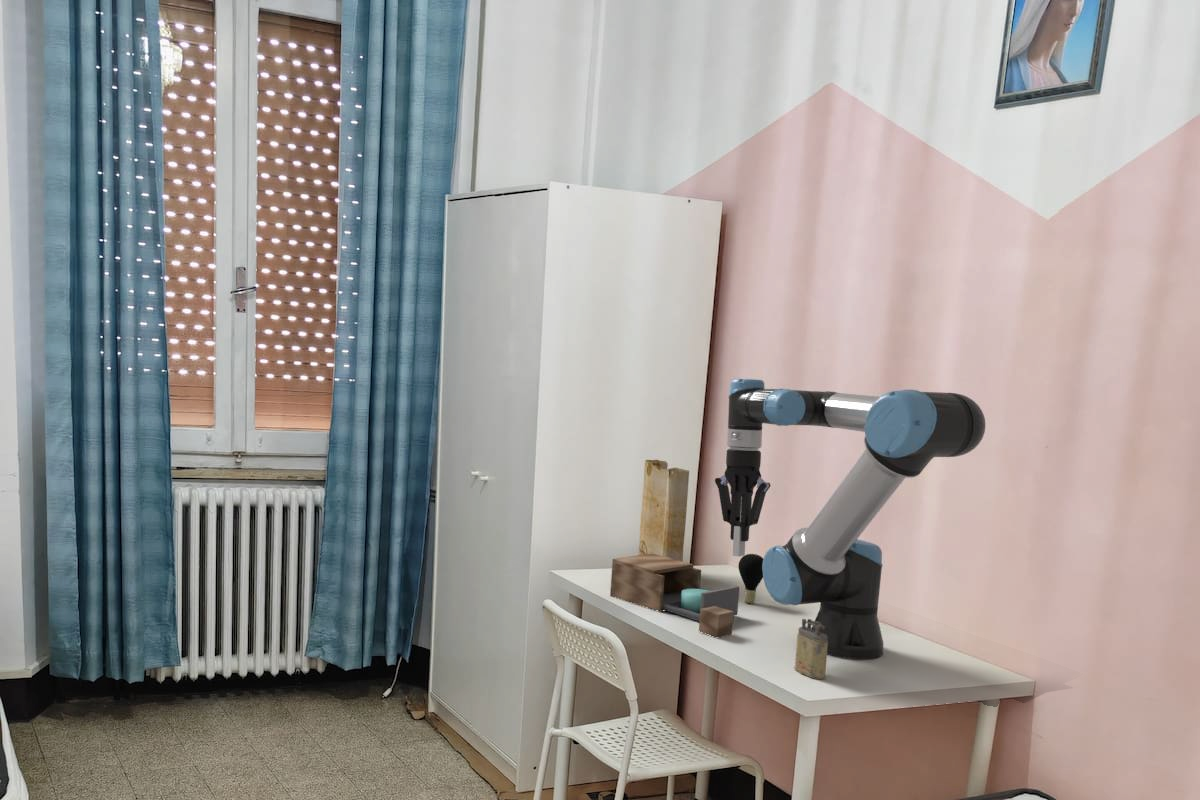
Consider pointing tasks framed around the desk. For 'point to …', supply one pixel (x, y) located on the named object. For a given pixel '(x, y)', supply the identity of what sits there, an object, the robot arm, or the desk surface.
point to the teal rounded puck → (691, 599)
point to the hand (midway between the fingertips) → (738, 555)
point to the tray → (704, 601)
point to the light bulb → (751, 574)
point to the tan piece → (663, 510)
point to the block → (716, 621)
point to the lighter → (811, 650)
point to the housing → (651, 579)
